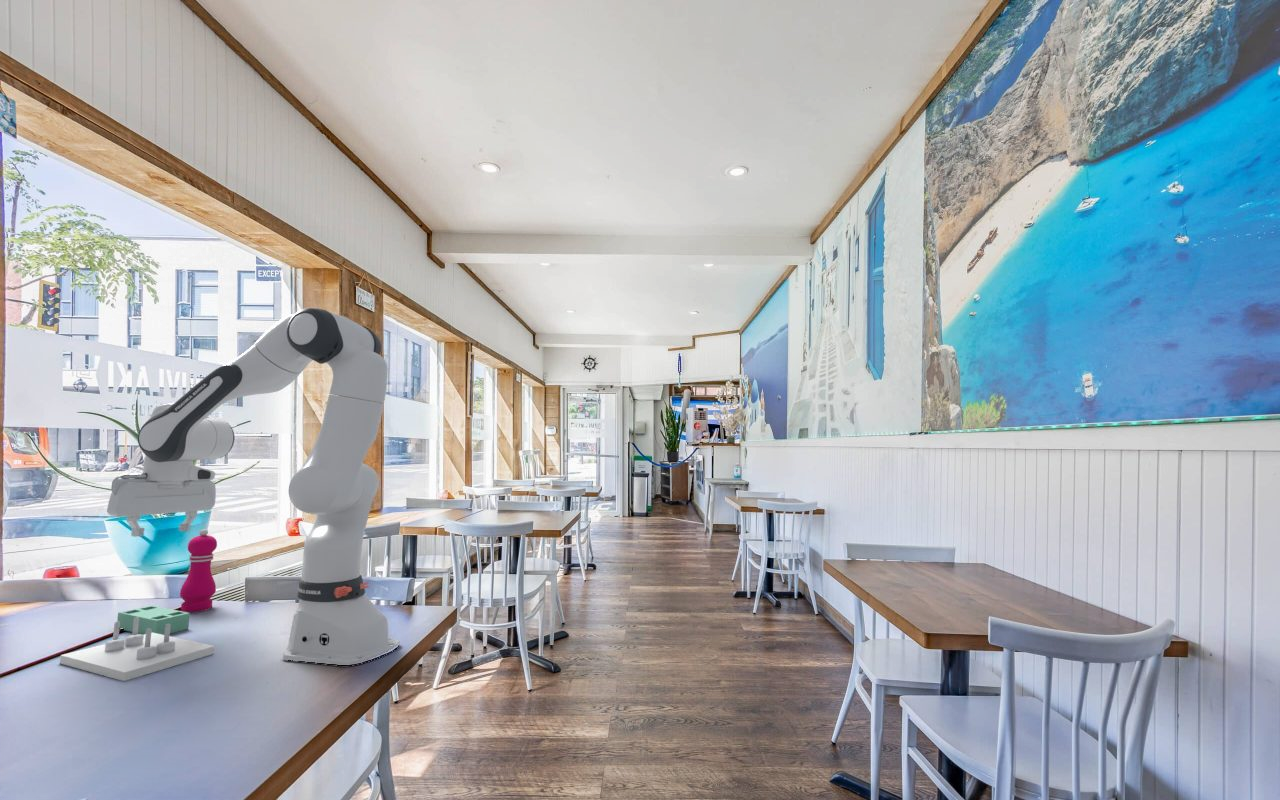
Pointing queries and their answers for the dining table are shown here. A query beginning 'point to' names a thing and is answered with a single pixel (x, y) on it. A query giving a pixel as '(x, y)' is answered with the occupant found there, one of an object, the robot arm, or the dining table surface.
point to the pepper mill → (199, 574)
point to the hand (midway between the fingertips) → (161, 533)
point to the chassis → (136, 654)
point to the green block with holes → (154, 619)
